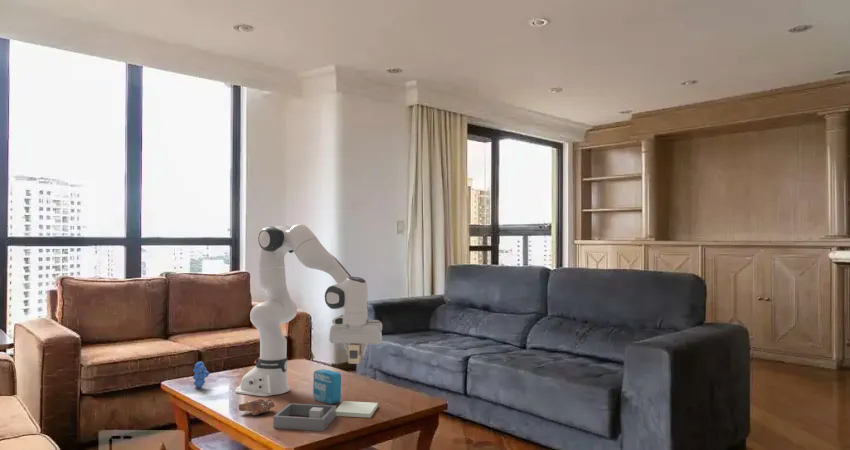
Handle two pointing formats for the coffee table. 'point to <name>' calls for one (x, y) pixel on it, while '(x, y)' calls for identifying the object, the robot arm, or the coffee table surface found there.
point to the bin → (303, 423)
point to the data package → (327, 386)
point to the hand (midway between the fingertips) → (355, 355)
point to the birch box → (354, 353)
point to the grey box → (316, 412)
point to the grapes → (200, 374)
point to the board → (356, 409)
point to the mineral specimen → (257, 406)
